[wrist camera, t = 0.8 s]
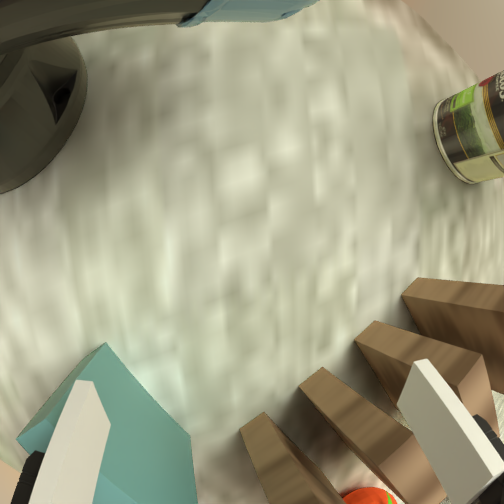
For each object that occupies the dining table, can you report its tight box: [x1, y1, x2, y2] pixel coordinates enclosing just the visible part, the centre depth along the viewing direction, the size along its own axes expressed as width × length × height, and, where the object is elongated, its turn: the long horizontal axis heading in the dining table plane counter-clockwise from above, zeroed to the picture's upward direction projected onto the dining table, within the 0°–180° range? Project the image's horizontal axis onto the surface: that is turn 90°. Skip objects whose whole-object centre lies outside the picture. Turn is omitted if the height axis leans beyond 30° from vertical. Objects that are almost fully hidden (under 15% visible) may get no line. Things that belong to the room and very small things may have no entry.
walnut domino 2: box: [401, 278, 504, 394], centre depth 21 cm, size 10×2×12 cm, turn 36°
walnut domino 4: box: [299, 367, 447, 504], centre depth 19 cm, size 10×2×12 cm, turn 36°
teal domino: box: [16, 342, 198, 504], centre depth 15 cm, size 10×2×12 cm, turn 36°
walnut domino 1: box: [240, 412, 346, 504], centre depth 18 cm, size 10×2×12 cm, turn 36°
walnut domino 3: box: [354, 321, 500, 437], centre depth 20 cm, size 10×2×12 cm, turn 36°
